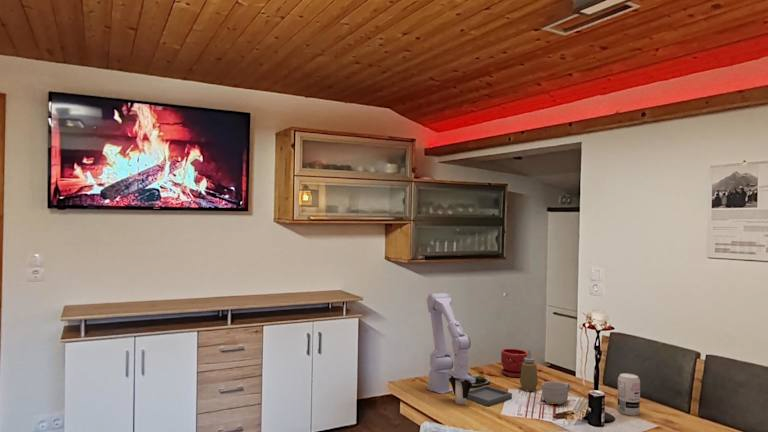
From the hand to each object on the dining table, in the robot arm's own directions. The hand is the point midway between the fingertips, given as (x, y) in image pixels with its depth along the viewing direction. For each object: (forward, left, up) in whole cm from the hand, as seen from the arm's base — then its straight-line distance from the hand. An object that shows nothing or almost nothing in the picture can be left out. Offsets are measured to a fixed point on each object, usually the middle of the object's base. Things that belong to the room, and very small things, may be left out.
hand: (460, 396), depth 228 cm
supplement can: (+51, +45, -3) cm, 68 cm away
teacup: (+26, +33, -3) cm, 42 cm away
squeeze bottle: (+8, +38, -3) cm, 39 cm away
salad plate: (-16, +25, -3) cm, 30 cm away
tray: (+4, +13, -3) cm, 14 cm away
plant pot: (-11, +53, -3) cm, 54 cm away
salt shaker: (0, 0, -3) cm, 3 cm away
